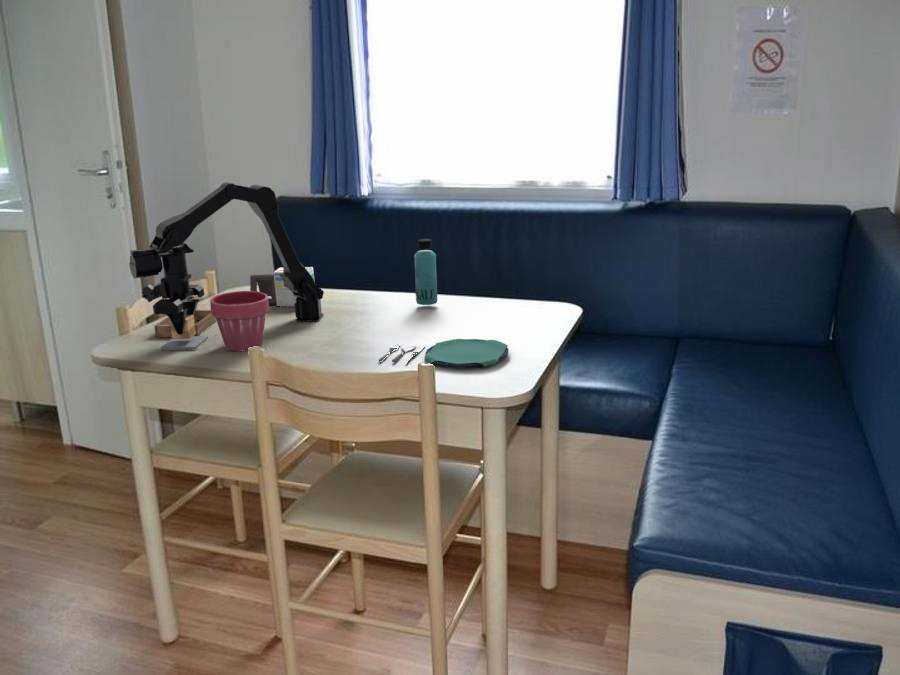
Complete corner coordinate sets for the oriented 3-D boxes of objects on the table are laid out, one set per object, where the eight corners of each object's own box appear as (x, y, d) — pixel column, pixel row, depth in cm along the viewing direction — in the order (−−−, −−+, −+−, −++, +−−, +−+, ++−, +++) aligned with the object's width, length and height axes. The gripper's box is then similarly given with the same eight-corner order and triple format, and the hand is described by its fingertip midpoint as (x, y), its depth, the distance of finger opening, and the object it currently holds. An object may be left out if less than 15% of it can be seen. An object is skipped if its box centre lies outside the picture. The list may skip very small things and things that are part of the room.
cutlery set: (499, 374, 184) (499, 364, 183) (373, 368, 192) (372, 359, 191) (516, 347, 202) (516, 338, 201) (400, 343, 210) (400, 334, 209)
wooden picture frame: (218, 319, 233) (217, 309, 232) (198, 336, 218) (196, 325, 217) (178, 320, 234) (177, 310, 233) (155, 336, 219) (154, 326, 218)
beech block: (195, 333, 213) (193, 315, 211) (189, 338, 209) (186, 319, 207) (179, 333, 213) (176, 315, 212) (172, 338, 209) (169, 320, 207)
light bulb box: (316, 301, 250) (314, 266, 246) (311, 307, 243) (308, 271, 240) (282, 301, 251) (279, 266, 247) (276, 307, 244) (272, 271, 241)
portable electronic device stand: (248, 306, 246) (245, 279, 243) (254, 299, 253) (251, 273, 251) (278, 305, 246) (275, 278, 243) (283, 299, 253) (280, 272, 251)
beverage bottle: (430, 303, 243) (428, 236, 237) (442, 307, 238) (440, 239, 232) (411, 306, 240) (408, 239, 234) (423, 311, 234) (420, 242, 228)
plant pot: (284, 343, 210) (279, 295, 206) (238, 358, 199) (232, 307, 196) (249, 334, 218) (244, 287, 215) (204, 347, 208) (198, 299, 204)
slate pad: (208, 339, 215) (208, 336, 215) (195, 349, 207) (195, 346, 207) (175, 339, 216) (175, 336, 216) (161, 350, 208) (160, 347, 207)
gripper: (160, 264, 215) (168, 321, 220) (127, 281, 198) (137, 342, 202) (201, 263, 214) (208, 321, 219) (172, 280, 197) (181, 342, 201)
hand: (183, 331), depth 210 cm, fingers closed on beech block, 4 cm apart
